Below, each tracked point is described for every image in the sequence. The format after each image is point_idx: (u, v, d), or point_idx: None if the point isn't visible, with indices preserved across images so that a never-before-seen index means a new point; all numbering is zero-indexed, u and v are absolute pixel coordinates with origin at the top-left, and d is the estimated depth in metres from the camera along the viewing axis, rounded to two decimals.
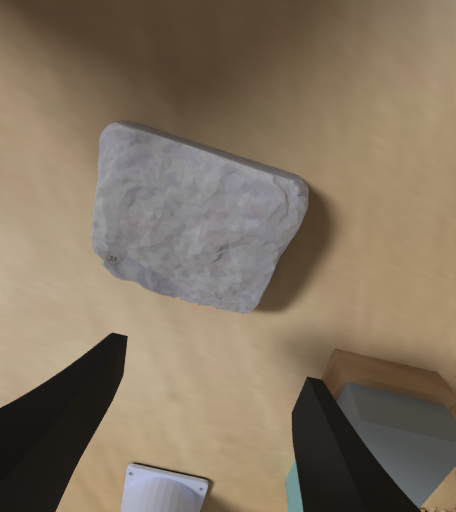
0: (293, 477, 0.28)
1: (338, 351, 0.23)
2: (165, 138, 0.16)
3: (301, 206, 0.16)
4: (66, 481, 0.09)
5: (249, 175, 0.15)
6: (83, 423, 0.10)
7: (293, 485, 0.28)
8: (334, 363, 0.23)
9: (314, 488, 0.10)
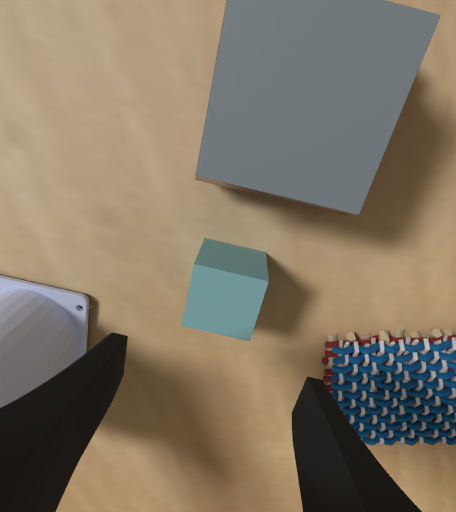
0: None
1: None
2: None
3: None
4: (66, 481, 0.09)
5: None
6: (83, 423, 0.10)
7: None
8: None
9: (314, 488, 0.10)
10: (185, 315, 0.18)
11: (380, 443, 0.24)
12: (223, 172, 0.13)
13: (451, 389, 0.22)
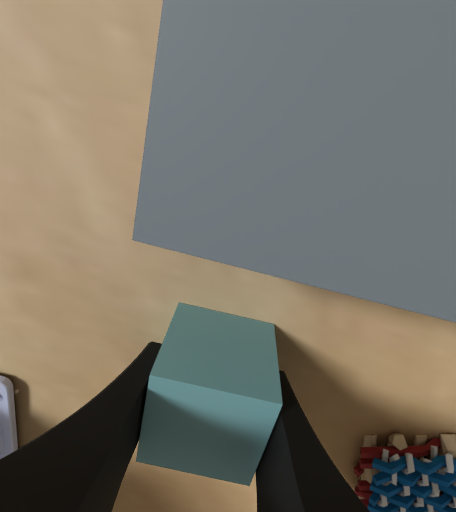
0: None
1: None
2: None
3: None
4: (116, 492, 0.09)
5: None
6: (132, 434, 0.10)
7: None
8: None
9: (265, 478, 0.10)
10: (140, 448, 0.10)
11: None
12: (194, 235, 0.06)
13: None
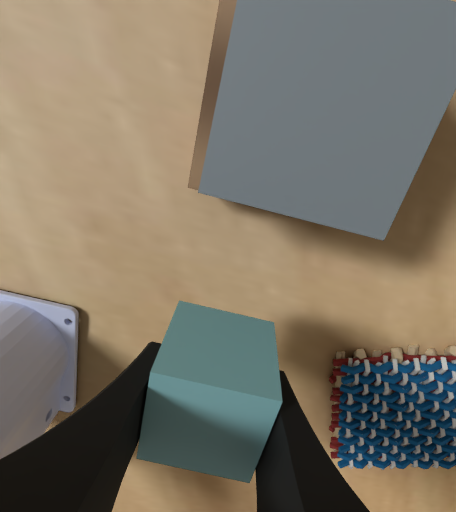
0: None
1: None
2: None
3: None
4: (117, 492, 0.09)
5: None
6: (132, 434, 0.10)
7: None
8: None
9: (265, 478, 0.10)
10: (141, 445, 0.11)
11: (391, 466, 0.22)
12: (230, 189, 0.11)
13: None
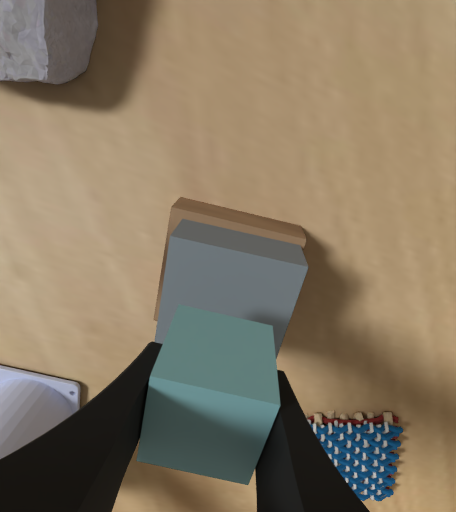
0: None
1: (182, 198, 0.20)
2: None
3: None
4: (117, 492, 0.09)
5: None
6: (132, 434, 0.10)
7: None
8: None
9: (265, 478, 0.10)
10: (141, 447, 0.11)
11: None
12: None
13: (373, 459, 0.27)
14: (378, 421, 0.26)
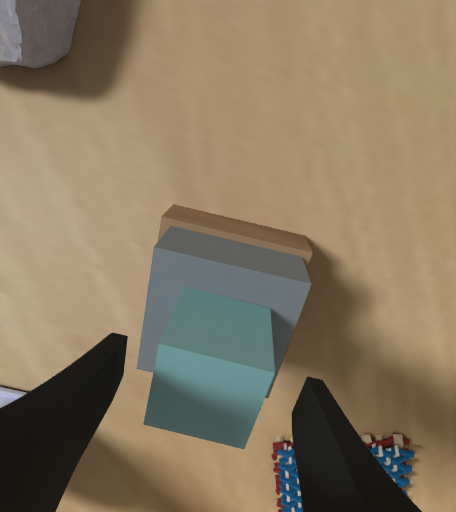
0: None
1: (174, 206, 0.18)
2: None
3: None
4: (66, 481, 0.09)
5: None
6: (83, 423, 0.10)
7: None
8: None
9: (313, 488, 0.10)
10: (148, 411, 0.12)
11: None
12: None
13: None
14: (388, 444, 0.24)
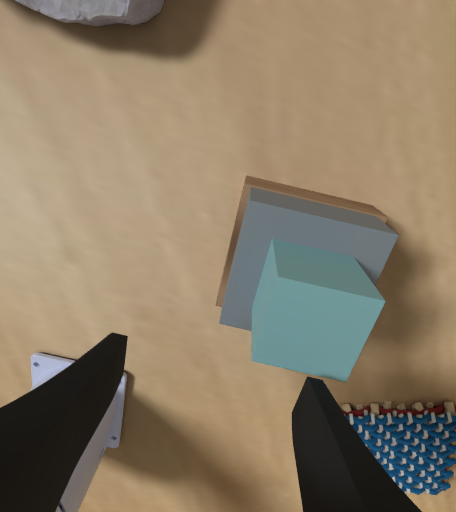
0: (262, 282, 0.15)
1: (248, 176, 0.19)
2: None
3: None
4: (66, 481, 0.09)
5: None
6: (83, 423, 0.10)
7: (262, 290, 0.14)
8: None
9: (313, 488, 0.10)
10: (258, 347, 0.13)
11: None
12: (240, 322, 0.17)
13: (432, 451, 0.26)
14: (439, 412, 0.25)
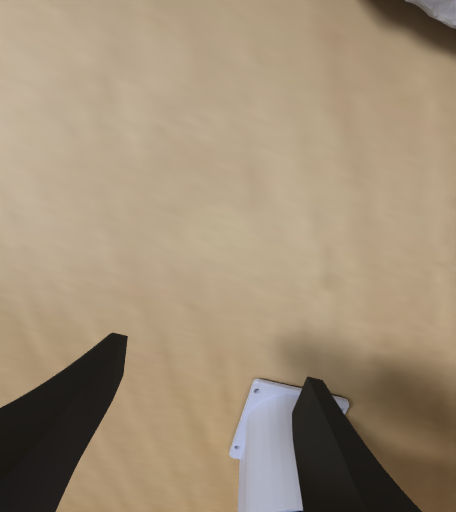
0: None
1: None
2: None
3: None
4: (66, 481, 0.09)
5: None
6: (83, 423, 0.10)
7: None
8: None
9: (313, 488, 0.10)
10: None
11: None
12: None
13: None
14: None
